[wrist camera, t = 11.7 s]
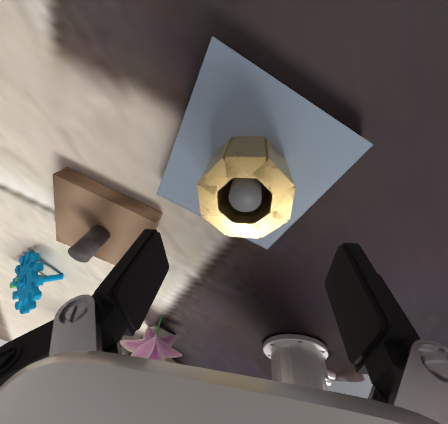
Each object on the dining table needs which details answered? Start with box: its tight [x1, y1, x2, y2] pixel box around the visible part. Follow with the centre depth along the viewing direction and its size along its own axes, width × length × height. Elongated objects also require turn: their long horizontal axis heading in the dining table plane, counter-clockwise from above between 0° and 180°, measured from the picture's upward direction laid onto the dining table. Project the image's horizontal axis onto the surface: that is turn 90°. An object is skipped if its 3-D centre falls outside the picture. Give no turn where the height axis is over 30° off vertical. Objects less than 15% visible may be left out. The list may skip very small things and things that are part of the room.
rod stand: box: [53, 167, 162, 265], centre depth 25 cm, size 12×12×6 cm
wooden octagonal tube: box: [197, 136, 296, 238], centre depth 16 cm, size 7×7×5 cm
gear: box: [10, 252, 63, 314], centre depth 35 cm, size 11×6×10 cm
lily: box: [120, 315, 182, 361], centre depth 40 cm, size 12×12×10 cm
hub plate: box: [157, 36, 373, 249], centre depth 17 cm, size 14×14×6 cm
